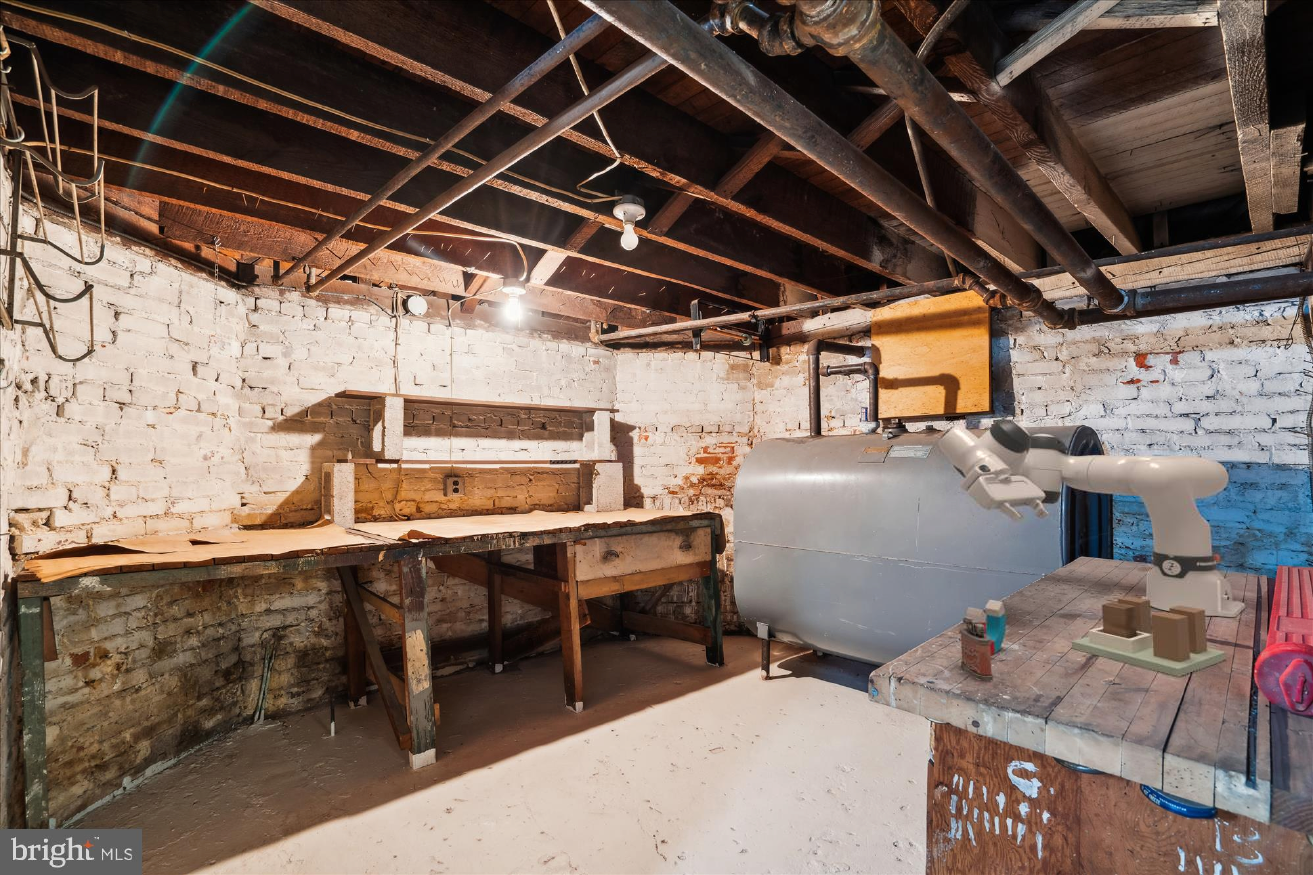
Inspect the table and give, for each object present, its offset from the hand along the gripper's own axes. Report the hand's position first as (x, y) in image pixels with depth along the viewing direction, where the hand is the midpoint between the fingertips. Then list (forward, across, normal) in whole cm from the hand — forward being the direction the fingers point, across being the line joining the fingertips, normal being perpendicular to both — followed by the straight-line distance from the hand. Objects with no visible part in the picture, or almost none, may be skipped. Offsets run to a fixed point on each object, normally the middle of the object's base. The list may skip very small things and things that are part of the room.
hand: (1032, 518), depth 133 cm
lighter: (+25, +35, -12) cm, 45 cm away
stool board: (+32, -3, -5) cm, 33 cm away
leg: (+29, 0, -6) cm, 30 cm away
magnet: (+21, +23, -16) cm, 35 cm away
